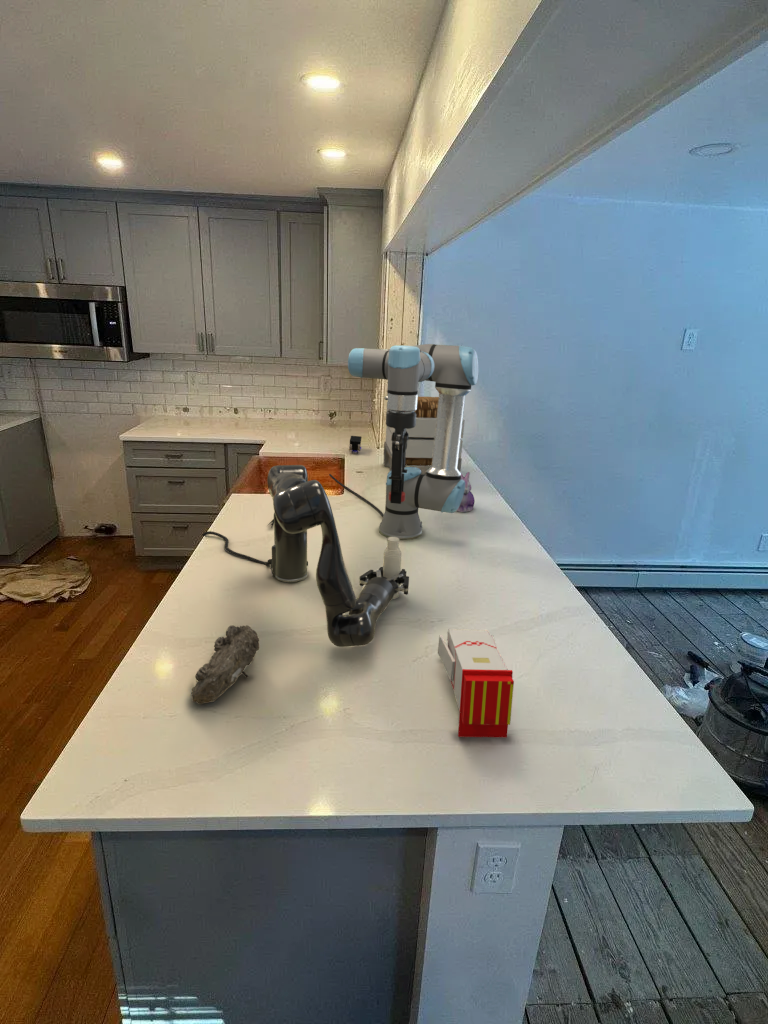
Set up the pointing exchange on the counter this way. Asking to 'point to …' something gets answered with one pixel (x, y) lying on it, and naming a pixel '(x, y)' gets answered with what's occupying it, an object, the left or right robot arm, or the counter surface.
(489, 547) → the counter surface
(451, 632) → the toy
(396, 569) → the bottle
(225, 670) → the fossil
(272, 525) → the feather
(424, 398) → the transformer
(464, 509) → the figurine
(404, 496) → the cap
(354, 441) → the figurine character
